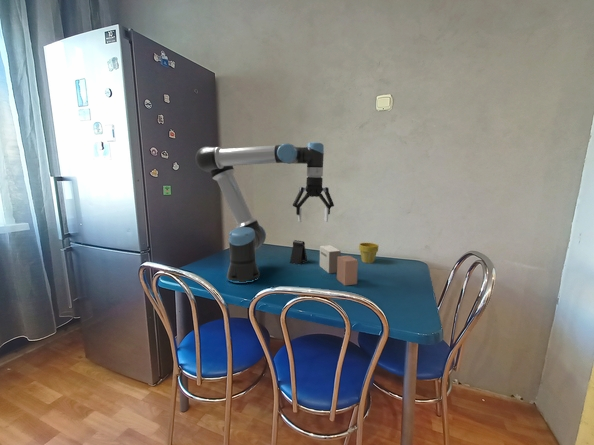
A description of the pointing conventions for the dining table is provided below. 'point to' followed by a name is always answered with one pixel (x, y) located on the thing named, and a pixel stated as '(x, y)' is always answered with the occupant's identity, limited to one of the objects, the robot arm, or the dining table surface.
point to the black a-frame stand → (298, 252)
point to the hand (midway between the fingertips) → (313, 221)
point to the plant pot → (368, 252)
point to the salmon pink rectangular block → (347, 270)
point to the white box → (329, 258)
